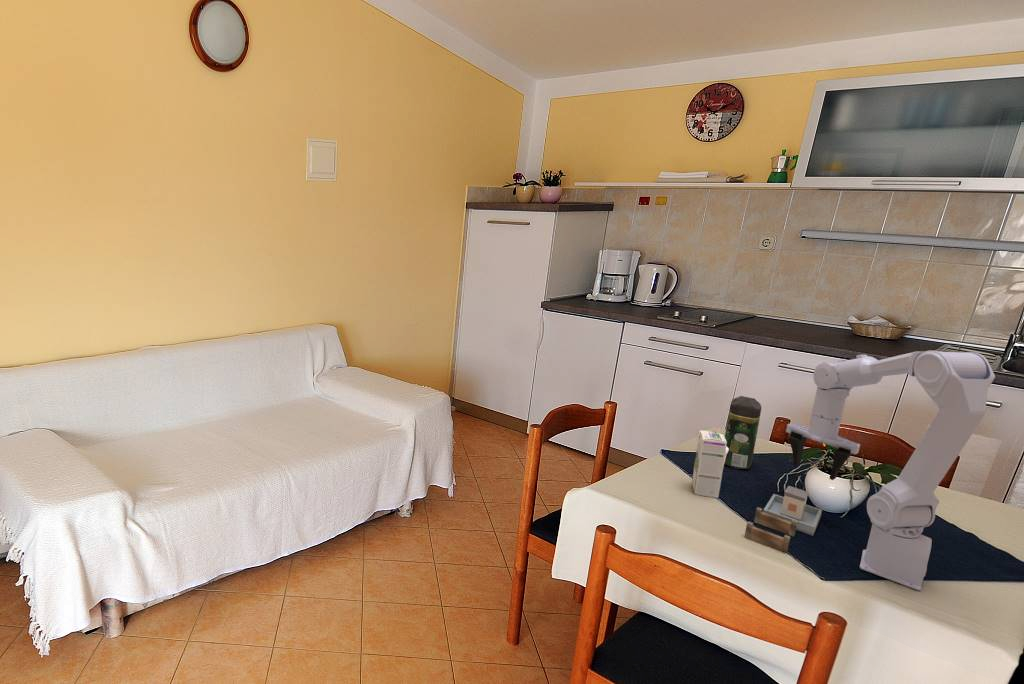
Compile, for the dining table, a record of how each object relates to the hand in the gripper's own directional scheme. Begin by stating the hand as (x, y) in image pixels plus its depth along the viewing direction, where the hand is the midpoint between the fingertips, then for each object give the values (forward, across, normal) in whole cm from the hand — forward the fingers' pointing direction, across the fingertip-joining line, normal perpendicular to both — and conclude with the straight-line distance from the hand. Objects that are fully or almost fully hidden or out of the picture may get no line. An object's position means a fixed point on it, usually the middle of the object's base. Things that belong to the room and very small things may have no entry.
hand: (814, 471), depth 121 cm
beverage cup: (+10, -22, -4) cm, 24 cm away
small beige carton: (+9, -1, -7) cm, 12 cm away
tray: (+10, -1, -6) cm, 12 cm away
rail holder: (+10, 0, -18) cm, 21 cm away
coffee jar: (+10, -23, +12) cm, 28 cm away
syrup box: (+10, -19, -12) cm, 25 cm away
